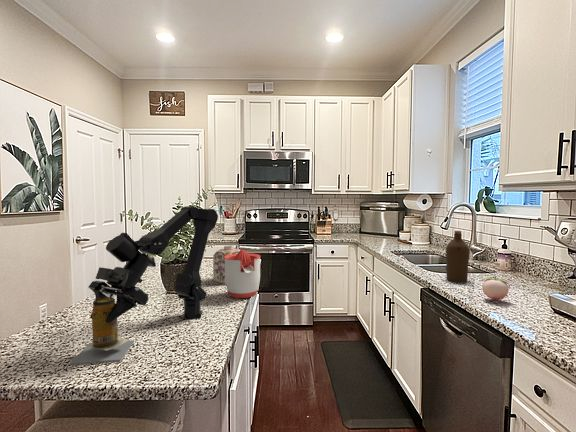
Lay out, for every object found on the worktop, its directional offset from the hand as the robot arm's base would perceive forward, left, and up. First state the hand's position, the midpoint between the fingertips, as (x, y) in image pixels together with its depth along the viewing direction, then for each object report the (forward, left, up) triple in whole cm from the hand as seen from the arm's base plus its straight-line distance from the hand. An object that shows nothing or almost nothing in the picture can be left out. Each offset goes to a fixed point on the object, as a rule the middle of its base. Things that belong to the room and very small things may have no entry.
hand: (99, 320), depth 90 cm
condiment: (-1, +2, -7) cm, 7 cm away
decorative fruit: (-25, +140, -9) cm, 142 cm away
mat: (-1, +1, -9) cm, 9 cm away
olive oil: (-59, +147, -9) cm, 158 cm away
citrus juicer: (-49, +39, -9) cm, 64 cm away
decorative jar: (-76, +33, -9) cm, 83 cm away
